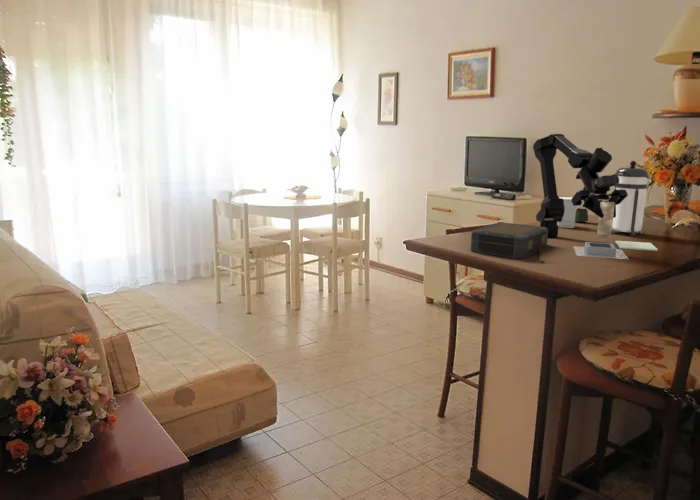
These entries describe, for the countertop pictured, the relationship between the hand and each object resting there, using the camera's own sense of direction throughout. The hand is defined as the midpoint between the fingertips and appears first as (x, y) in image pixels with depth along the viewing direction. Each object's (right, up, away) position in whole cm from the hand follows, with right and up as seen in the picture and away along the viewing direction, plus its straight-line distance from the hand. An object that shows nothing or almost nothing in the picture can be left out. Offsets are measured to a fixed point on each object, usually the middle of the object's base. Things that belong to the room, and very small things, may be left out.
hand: (608, 217), depth 196 cm
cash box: (-31, -11, +12) cm, 35 cm away
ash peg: (0, -7, +3) cm, 7 cm away
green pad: (+16, -11, +15) cm, 25 cm away
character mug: (+19, +2, +72) cm, 75 cm away
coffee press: (+26, -4, +46) cm, 53 cm away
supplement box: (+7, -1, +61) cm, 61 cm away
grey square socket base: (-2, -13, +4) cm, 14 cm away
